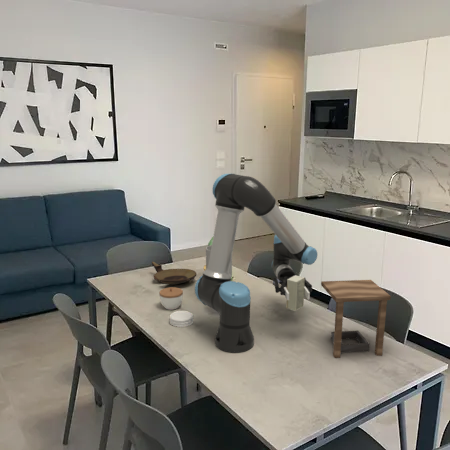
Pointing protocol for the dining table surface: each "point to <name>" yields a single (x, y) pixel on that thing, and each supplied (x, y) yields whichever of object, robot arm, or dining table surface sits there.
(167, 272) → the brown frying pan
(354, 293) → the awning stand
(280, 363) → the dining table surface
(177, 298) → the lidded jar
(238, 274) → the dining table surface
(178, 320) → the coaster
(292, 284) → the skincare box
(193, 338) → the dining table surface
